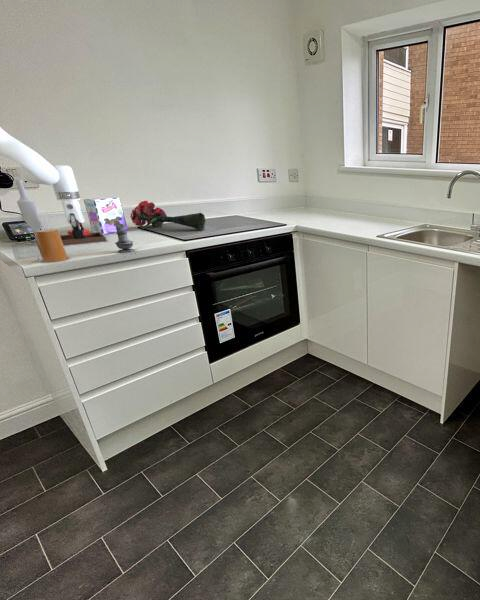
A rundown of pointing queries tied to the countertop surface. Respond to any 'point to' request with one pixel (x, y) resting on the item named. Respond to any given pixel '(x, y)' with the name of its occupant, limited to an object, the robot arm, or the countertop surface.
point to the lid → (85, 231)
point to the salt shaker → (123, 239)
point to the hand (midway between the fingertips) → (80, 237)
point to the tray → (87, 239)
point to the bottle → (28, 208)
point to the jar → (50, 245)
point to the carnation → (163, 217)
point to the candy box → (105, 214)
